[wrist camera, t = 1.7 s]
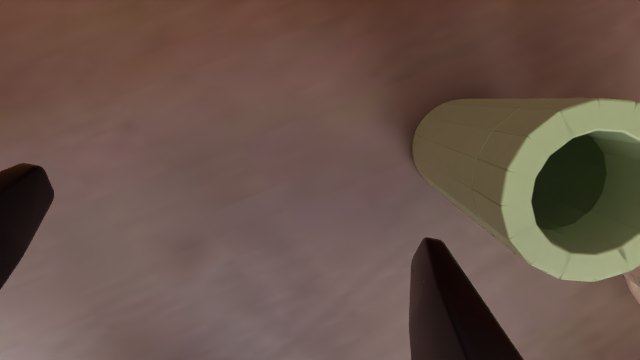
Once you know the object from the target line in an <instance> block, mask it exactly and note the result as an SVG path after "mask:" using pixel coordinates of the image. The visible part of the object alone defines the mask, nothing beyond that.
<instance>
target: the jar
mask: <svg viewBox="0 0 640 360" xmlns="http://www.w3.org/2000/svg"><path fill="white" fill-rule="evenodd" d="M412 153H413V159H414V163H415V165H416V168H417V170H418V171H419V173H420V174H421V176H422V177H423V178H424V179H425V180H426V181H427V182H428V183H429V184H430V185H431V186H432V187H433V188H435V189H436V190H437V191H438V192H440V193H441V194H442V195H443V196H445V197H446V198H447V199H448V200H450V201H451V202H452V203H453V204H455V205H456V206H457V207H458V208H459V209H461V210H462V211H463V212H464V213H466V214H467V215H468V216H469V217H471V218H472V219H473V220H474V221H476V222H477V223H478V224H479V225H481V226H482V227H483V228H484V229H486V230H487V231H488V232H489V233H491V234H492V235H493V236H494V237H496V238H497V239H498V240H499V241H501V242H502V243H503V244H504V245H506V246H507V247H508V248H509V249H511V250H512V251H513V252H514V253H515V254H517V255H518V256H519V257H520V258H522V259H523V260H524V261H525V262H527V263H528V264H529V265H531V266H533V267H535V268H537V269H539V270H541V271H543V272H545V273H547V274H549V275H551V276H553V277H555V278H559V279H561V280H575V281H589V282H594V281H599V280H603V279H606V278H610V277H613V276H617V275H620V274H623V273H627V272H629V271H632V270H633V269H635V268H636V267H638V266H639V265H640V103H639V102H635V101H633V100H622V99H608V98H505V99H457V100H452V101H448V102H445V103H443V104H441V105H439V106H437V107H435V108H434V109H432V110H431V111H430V112H429V113H428V114H427V115H426V116H425V117H424V118H423V119H422V121H421V122H420V124H419V125H418V127H417V129H416V132H415V135H414V138H413V144H412Z"/></svg>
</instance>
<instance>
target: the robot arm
mask: <svg viewBox="0 0 640 360" xmlns="http://www.w3.org/2000/svg"><path fill="white" fill-rule="evenodd" d="M53 198H54V190H53V188H52V186H51V183H50V181H49V179H48V176H47V174H46V172H45V170H44V169H43V168H42V167H41V166H37V165H32V164H26V163H22V164H18V165H15V166H13V167H11V168H8V169H6V170H3V171H1V172H0V289H1V288H2V287H3V285H4V284H5V282H6V281H7V279H8V278H9V276H10V275H11V273H12V272H13V270H14V269H15V268H16V266H17V265H18V263H19V261H20V260H21V258H22V257H23V255H24V253H25V252H26V250H27V248H28V246H29V245H30V243H31V241H32V239H33V237H34V235H35V233H36V231H37V230H38V228H39V226H40V224H41V222H42V220H43V218H44V216H45V215H46V213H47V211H48V209H49V207H50V205H51V203H52V201H53ZM409 334H410V347H411V360H523V358H522V357H521V355H520V354H519V352H518V351H517V349H516V348H515V346H514V345H513V344H512V342H511V341H510V339H509V338H508V336H507V335H506V333H505V332H504V330H503V329H502V327H501V326H500V324H499V323H498V322H497V320H496V319H495V317H494V316H493V314H492V313H491V311H490V310H489V308H488V307H487V305H486V304H485V303H484V301H483V300H482V298H481V297H480V295H479V294H478V292H477V291H476V289H475V288H474V286H473V285H472V283H471V282H470V281H469V279H468V278H467V276H466V275H465V273H464V272H463V270H462V269H461V267H460V266H459V264H458V263H457V261H456V260H455V259H454V257H453V256H452V254H451V253H450V251H449V250H448V248H447V247H446V245H445V244H444V243H443V242H442V241H441V240H438V239H433V238H424V239H423V240H422V242H421V243H420V245H419V247H418V249H417V251H416V253H415V255H414V257H413V259H412V264H411V283H410V309H409Z"/></svg>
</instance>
